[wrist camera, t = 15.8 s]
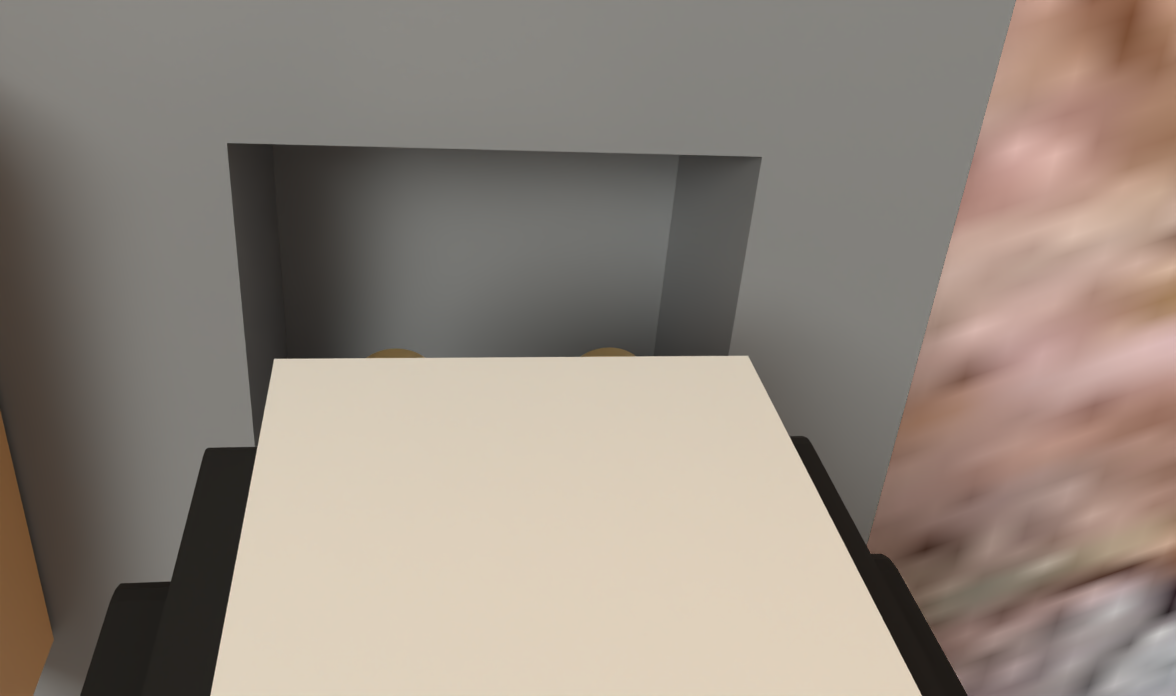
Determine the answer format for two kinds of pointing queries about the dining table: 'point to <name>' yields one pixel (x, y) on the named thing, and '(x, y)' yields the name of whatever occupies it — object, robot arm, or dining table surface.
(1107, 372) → the dining table surface
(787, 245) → the socket
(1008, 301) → the dining table surface
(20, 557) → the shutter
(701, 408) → the block
